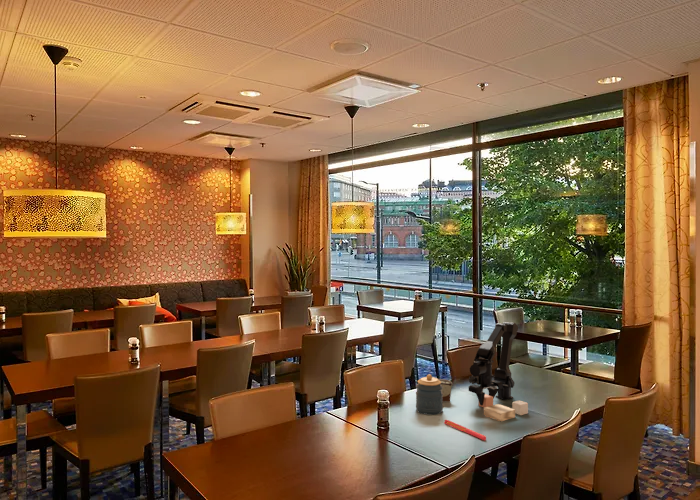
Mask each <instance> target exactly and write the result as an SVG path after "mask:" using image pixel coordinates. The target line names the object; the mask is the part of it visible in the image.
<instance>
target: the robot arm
mask: <svg viewBox="0 0 700 500" xmlns="http://www.w3.org/2000/svg"><path fill="white" fill-rule="evenodd" d="M518 330H519V325H517V323H516V322H510V321H503V322H502V323H501V322H498V323H495V326H494V328H493V331H491V334H490V335H489V337H488V339H487V340H486V341H485V342H484V343H482V344H481V345H480V346H479V347H478V349H477V351H476V354H475V356H474V360H473V362H472V363H473V364H471V365H470V367H469V373H470V375H469V376H468V381H469V384H471V385H469V386H468V392H471V393H473V394H475V395H476V397H477V398H478V399H477V401H478V404H479V403H480V405H482V404H483V400H484V396H485V394H486V393H485V392H484V390H485V389H486V390H487V391H488V395H490V396H493V400H494V398H495V397H496V398H498V399H499V400H500V399H501V400H504V401H506V400H510V399H514V396H512V389H513V388H514V387H515V381H514V379H513V378H512V371H511V369H510V364H511V363H510V361H511V354H512V346H513V340H514V339H515V337H516V336H517V333H518ZM501 338H502V342H501V350H500V358H499V364H498V367H497V368H494V374H493V367H492V366H493V363H494V360H493V359H494V357H495V354H496V347H497V345H498V343H499V342H500V340H501ZM492 378H493V379H492ZM496 394H497V395H496Z"/></svg>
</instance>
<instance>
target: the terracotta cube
mask: <svg viewBox="0 0 700 500" xmlns="http://www.w3.org/2000/svg"><path fill="white" fill-rule="evenodd" d="M492 405H494V399H493V396H490V395H489V394H487V393H485V396H484V400H483V404H482V405H480V403H479V402H478V406H479V407H482V408H483V409H484V408H485V407H488V406H492Z"/></svg>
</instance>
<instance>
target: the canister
mask: <svg viewBox="0 0 700 500" xmlns="http://www.w3.org/2000/svg"><path fill="white" fill-rule="evenodd" d="M438 379H439V378H437V377H434V376H432V374H430V373H429V374H427V375H426V376H424V377H421V378H420V379H418V380H417V384H416V385H415V388H416V391H415V396H416V397H415V402H416V403H415V409H416V410H415V411H416V412H418V413H419V414H422V415H429V416H430V415H431V416H432V415H433V416H434V415H439V414H441V413H442V412H443V410H444V405H443V403H444V402H443V393H442V388H443V386H442V385H441V381H440V380H438Z"/></svg>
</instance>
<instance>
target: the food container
mask: <svg viewBox="0 0 700 500" xmlns="http://www.w3.org/2000/svg"><path fill="white" fill-rule="evenodd" d="M437 379H438V380H440V381H441V385H442V386H443V388H442V393H443V403H444V402H448V403H449V402H451V395H452V387H453V386H454V385H453V382H452V381H451V380H450V379H445V378H444V379H443V378H437Z"/></svg>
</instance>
